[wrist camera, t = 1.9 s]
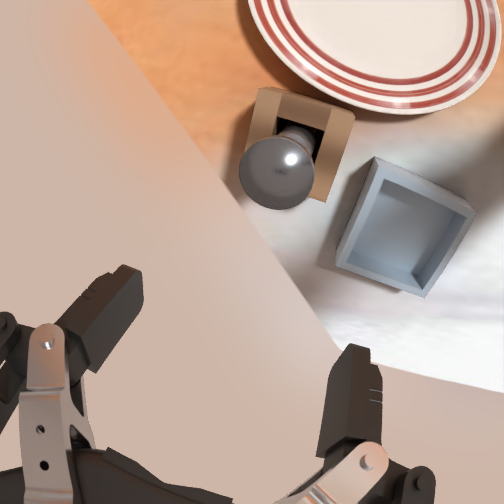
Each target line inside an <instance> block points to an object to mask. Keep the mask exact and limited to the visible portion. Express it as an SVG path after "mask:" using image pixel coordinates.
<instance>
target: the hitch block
mask: <svg viewBox="0 0 504 504" xmlns="http://www.w3.org/2000/svg"><path fill="white" fill-rule="evenodd" d="M284 119H288V120H292V121H295V122H298V123H302V124H305V125H308V126H311V127H314V128H317V129H320V130H323V131H324V134H323V137H322V140H321V144H320V147H319V150H318V153H317V156H316V159H313V162H314V167H315V178H314V182H313V186H312V189H311V191H310V193H309V195H308V196H307V197H310V198H313V199H316V200H319V201H322V202H325V203H326V200H327V197H328V195H329V192H330V189H331V186H332V184H333V181H334V178H335V175H336V172H337V170H338V167H339V164H340V161H341V158H342V155H343V153H344V150H345V147H346V144H347V141H348V138H349V135H350V132H351V129H352V126H353V123H354V120H355V116H354V114H353V112H352V111H351V110H348V109H345V108H342V107H339V106H336V105H333V104H330V103H327V102H324V101H321V100H318V99H315V98H312V97H308V96H305V95H301V94H298V93H294V92H291V91H287V90H283V89H279V88H276V87H265V88H259V90H258V94H257V98H256V102H255V107H254V111H253V115H252V120H251V124H250V128H249V133H248V137H247V141H246V146H245V150H244V153H245V152H246V151H247V149H248V148H249V147H251V146H252V145H253V144H254V143H255V142H257V141H258V140H260V139H262V138H265V137H268V136H275V135H278V134H279V133H280V132H281V130H282V126H283V122H284Z"/></svg>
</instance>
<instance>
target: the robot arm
mask: <svg viewBox="0 0 504 504" xmlns="http://www.w3.org/2000/svg"><path fill="white" fill-rule="evenodd" d="M143 301H144V296H143V281H142V273H141V271H139V270H137V269H134V268H132V267H129V266H127V265H124V264H123V265H121V266H120V267H119V268H118V269H117V270H116V271H115V272H114V273H113V274H111V273H109V272H108V273H106V274H104V275H102V276H100V277H98V278H96V279H95V280H94V281H93V282H92V283H91V284H90V286H89V287H88V289H86V290H85V291H84V292H83V293H82V294H81V296H79V297H78V298H77V299H76V300H75V302H74V303H73V304H72V305H71V306H70V307H69V308H68V309H67V310H66V312H65V313H64V314H63V315H62V316H61V317H60V318H59V319H58V320H57V321H56V322H55V323H54V324H50V323H47V324H43V325H40V326H39V327H37V328H32V327H29V326H25V325H21V324H18V323H17V321H16V320H15V317H14V316H13V315H12V314H11V313H9V312H0V365H1V364H2V362H3V361H4V360H5V361H6V362H5V363H4V364H3V366H2V367H1V369H0V434H1V432H2V431H3V429H4V427H5V425H6V423H7V422H8V420H9V418H10V416H11V415H12V413H13V411H14V410H15V408H16V406H17V405H18V403H19V429H20V430H19V431H20V446H21V457H22V465H23V466H21V467H18V468H14V469H9V470H6V471H1V472H0V504H234V503H232V500H233V499H232V498H229V497H226V496H222V495H219V494H216V493H213V492H210V491H207V490H204V489H201V488H192V487H185V486H179V485H172V484H167V483H164V482H162V481H161V480H159V479H158V478H157V477H155V476H154V475H153V474H151V473H150V472H149V471H147V470H146V469H145V468H144V467H142V466H141V465H140V464H139V463H137V462H136V461H134V460H132V459H130V458H128V457H126V456H124V455H122V454H120V453H118V452H116V451H115V450H113V449H111V448H109V447H108V448H107V449H106V451H104V450H99V449H96V447H95V441H94V436H93V433H92V430H91V427H90V424H89V421H88V416H87V408H86V399H85V389H84V378H83V374H84V372H85V371H86V369H89V370H90V371H92V372H94V373H97V371H98V370H99V368H100V367H101V366H102V364H103V363H104V361H105V360H106V358H107V357H108V356H109V354H110V353H111V351H112V350H113V348H114V347H115V346H116V344H117V343H118V341H119V340H120V339H121V337H122V336H123V334H124V333H125V332H126V330H127V329H128V328H129V326H130V325H131V323H132V322H133V321H134V319H135V318H136V316H137V315H138V314H139V312H140V311H141V308H142V306H143ZM381 430H382V376H381V373H380V371H379V368H378V366H377V365H373V364H370V349H369V348H366V347H362V346H359V345H355V344H352V343H350V344H349V345H348V346H347V347H346V349H345V350H344V351H343V353H342V354H341V356H340V357H339V358H338V360H337V361H336V363H335V364H334V366H333V367H332V369H331V371H330V374H329V377H328V384H327V391H326V398H325V405H324V411H323V418H322V424H321V430H320V436H319V441H318V447H317V452H316V457H320V458H325V460H324V465H323V467H321V468H320V469H319V470H318V471H317V472H315V473H314V474H313V475H312V476H311V477H309V478H308V479H307V480H306V481H304V482H303V483H302V484H300V485H299V486H298V487H297V488H295V489H294V490H293V491H291V492H290V493H289V494H287V495H286V496H285V497H283V498H281V499H280V500H278V501H276V502H274V503H273V504H357V503H358V504H434V497H435V486H436V480H435V476H434V474H433V472H432V471H431V470H430V469H429V468H427V467H425V466H418V467H415V468H413V469H408V468H406V467H404V466H402V465H400V464H397V463H396V462H394V461H392V460H390V459H389V458H388V455H387V452H386V451H385V449H384V448H383V447H382V445H381V432H382V431H381Z"/></svg>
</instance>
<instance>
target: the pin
mask: <svg viewBox="0 0 504 504" xmlns="http://www.w3.org/2000/svg"><path fill="white" fill-rule="evenodd" d="M317 137H318V134H317V130H316V128H314V127H311V126H308V125H305V124H302V123H298V122H295V121H293V122H291V123H290V124H289V125H288V126H287V127H286V128H285V129H284V130H282V131H281V132H280V133H279V134H278V135H275V136H268V137H265V138H262V139H260V140H258V141H257V142H255V143H254V144H253V145H252V146H251V147H249V148H248V149H247V151H246V152H245V153H244V155H243V157H242V159H241V162H240V166H239V177H240V181H241V184H242V187H243V188H244V190H245V192H246V193H247V195H248V196H249V197H250V198H251V199H252V200H254V201H255V202H256V203H258V204H259V205H261V206H264V207H266V208H270V209H275V210H283V209H289V208H292V207H294V206H296V205H298V204H300V203H301V202H302V201H303V200H305V198H306V197H307V196H308V195H309V193H310V191H311V189H312V186H313V182H314V178H315V167H314V162H313V159H312V157H311V156H312V153H313V150H314V147H315V144H316V141H317Z"/></svg>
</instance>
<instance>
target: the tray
mask: <svg viewBox="0 0 504 504" xmlns="http://www.w3.org/2000/svg"><path fill="white" fill-rule="evenodd" d="M476 214H477V213H476V212H475V210H474V209H473V208H472V207H471V206H470V204H469V203H468V202H467V201H466V200H465V199H464V198H462V197H460V196H458V195H456V194H455V193H453V192H451V191H449V190H447V189H445V188H443V187H441V186H439V185H437V184H435V183H433V182H431V181H429V180H427V179H425V178H423V177H421V176H418V175H416V174H414V173H412V172H410V171H408V170H405V169H403V168H401V167H399V166H396V165H394V164H392V163H389V162H387V161H385V160H382V159H380V158H377V157H375V156H374V159H373V161H372V164H371V167H370V169H369V172H368V174H367V177H366V179H365V182H364V184H363V187H362V189H361V192H360V194H359V197H358V199H357V202H356V204H355V206H354V209H353V211H352V213H351V216H350V218H349V220H348V223H347V225H346V227H345V230H344V232H343V234H342V237H341V239H340V241H339V243H338V245H337V248H336V260H335V266H336V267H339V268H342V269H345V270H347V271H350V272H353V273H356V274H359V275H362V276H364V277H367V278H370V279H373V280H376V281H378V282H381V283H384V284H387V285H390V286H392V287H395V288H398V289H401V290H403V291H406V292H409V293H412V294H414V295H417V296H420V297H423V298H425V297H426V295H427V294H428V292H429V291H430V290H431V288H432V287H433V285H434V284H435V282H436V281H437V279H438V278H439V276H440V275H441V273H442V272H443V270H444V269H445V267H446V266H447V264H448V262H449V261H450V259H451V258H452V256H453V254H454V253H455V251H456V250H457V248H458V246H459V244H460V243H461V241H462V239H463V238H464V236H465V234H466V232H467V231H468V229H469V227H470V225H471V223H472V222H473V220H474V218H475V216H476Z"/></svg>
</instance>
